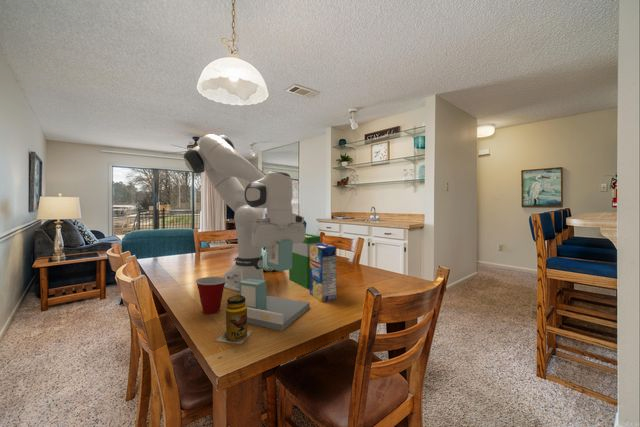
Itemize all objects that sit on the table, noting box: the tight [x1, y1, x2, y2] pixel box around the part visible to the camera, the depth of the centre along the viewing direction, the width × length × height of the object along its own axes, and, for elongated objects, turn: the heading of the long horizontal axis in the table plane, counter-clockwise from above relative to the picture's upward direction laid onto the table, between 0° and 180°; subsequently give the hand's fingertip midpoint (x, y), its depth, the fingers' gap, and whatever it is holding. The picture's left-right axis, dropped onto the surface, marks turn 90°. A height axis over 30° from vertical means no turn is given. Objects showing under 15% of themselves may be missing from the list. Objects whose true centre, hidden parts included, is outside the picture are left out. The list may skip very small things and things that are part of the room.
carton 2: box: [266, 239, 292, 272], centre depth 93 cm, size 8×5×10 cm, turn 42°
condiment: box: [215, 294, 253, 345], centre depth 81 cm, size 7×8×12 cm
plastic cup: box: [195, 276, 227, 315], centre depth 99 cm, size 11×11×12 cm
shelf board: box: [247, 294, 311, 332], centre depth 97 cm, size 20×20×5 cm
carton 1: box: [238, 278, 267, 310], centre depth 96 cm, size 8×5×10 cm, turn 66°
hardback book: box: [288, 233, 321, 290], centre depth 133 cm, size 18×7×24 cm, turn 35°
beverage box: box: [309, 242, 338, 303], centre depth 114 cm, size 7×11×22 cm, turn 29°
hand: (279, 257), depth 93 cm, fingers closed on carton 2, 5 cm apart
